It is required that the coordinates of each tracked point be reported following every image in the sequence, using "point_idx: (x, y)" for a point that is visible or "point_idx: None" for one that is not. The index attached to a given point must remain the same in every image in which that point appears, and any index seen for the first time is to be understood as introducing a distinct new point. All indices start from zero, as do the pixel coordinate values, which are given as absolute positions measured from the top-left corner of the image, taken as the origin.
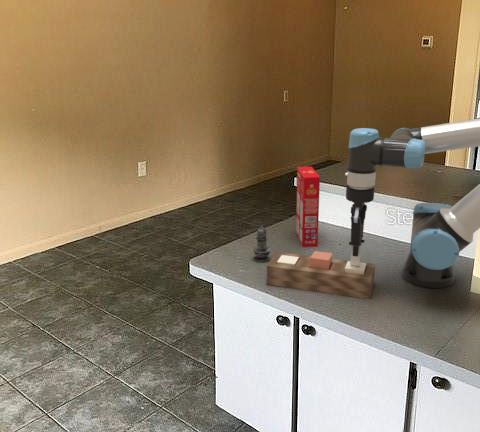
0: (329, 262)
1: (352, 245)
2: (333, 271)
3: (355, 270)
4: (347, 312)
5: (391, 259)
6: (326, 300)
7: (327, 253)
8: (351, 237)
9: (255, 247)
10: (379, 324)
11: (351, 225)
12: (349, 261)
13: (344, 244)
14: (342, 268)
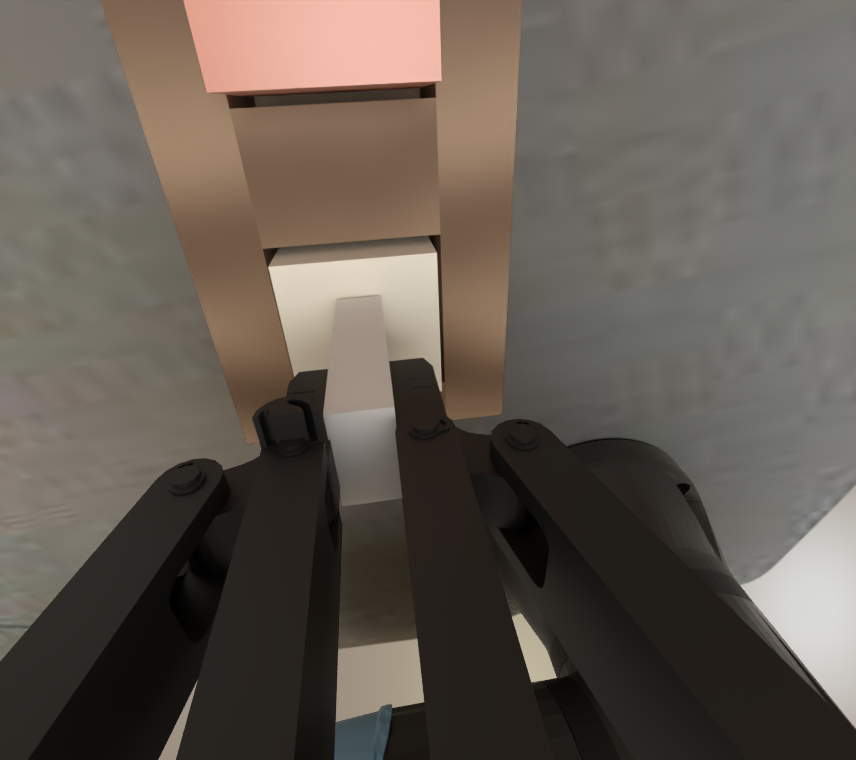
0: (263, 91)
1: (326, 417)
2: (225, 158)
3: (290, 347)
4: (39, 307)
5: (765, 370)
6: (90, 139)
7: (413, 10)
8: (61, 603)
9: None
10: (46, 459)
11: None
12: (431, 269)
13: None
14: (333, 223)
